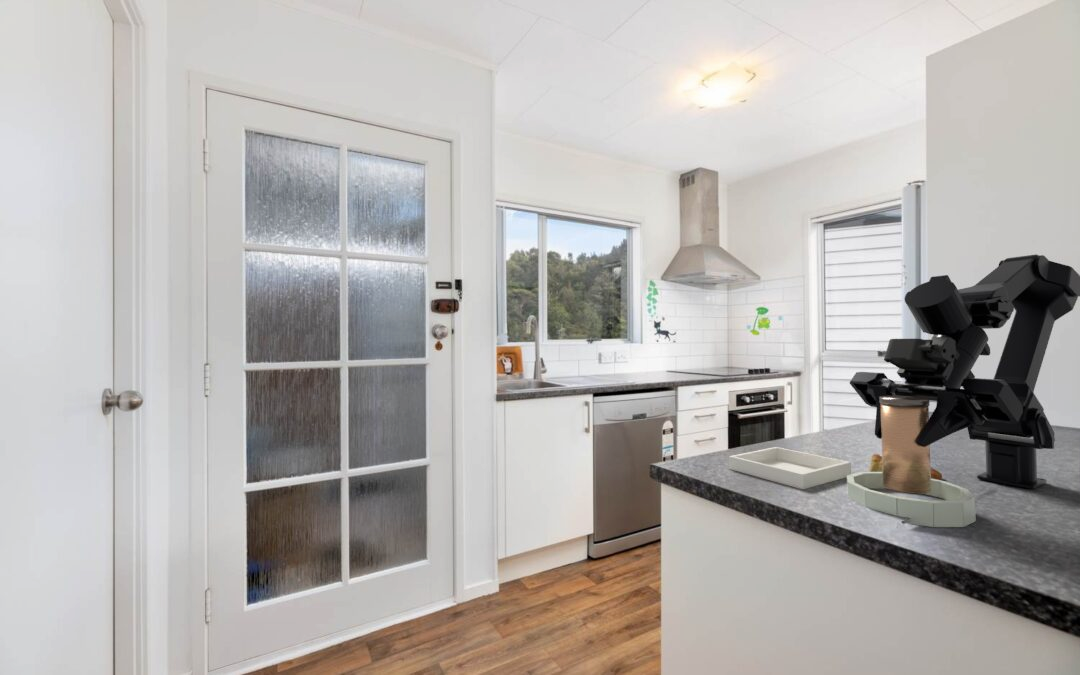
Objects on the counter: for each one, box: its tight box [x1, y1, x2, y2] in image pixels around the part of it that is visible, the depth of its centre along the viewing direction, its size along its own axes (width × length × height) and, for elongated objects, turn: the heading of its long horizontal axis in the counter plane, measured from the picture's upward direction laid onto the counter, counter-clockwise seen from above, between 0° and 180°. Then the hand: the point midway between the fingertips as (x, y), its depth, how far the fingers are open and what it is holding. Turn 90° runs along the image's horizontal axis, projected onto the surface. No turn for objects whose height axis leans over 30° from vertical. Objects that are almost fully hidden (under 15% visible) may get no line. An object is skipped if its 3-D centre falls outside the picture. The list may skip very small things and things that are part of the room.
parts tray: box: [728, 446, 852, 490], centre depth 78 cm, size 13×13×3 cm
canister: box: [879, 396, 931, 494], centre depth 63 cm, size 5×5×12 cm
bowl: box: [846, 471, 977, 528], centre depth 63 cm, size 13×13×3 cm
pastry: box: [868, 453, 943, 481], centre depth 75 cm, size 9×7×4 cm
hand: (898, 440), depth 63 cm, fingers closed on canister, 5 cm apart
